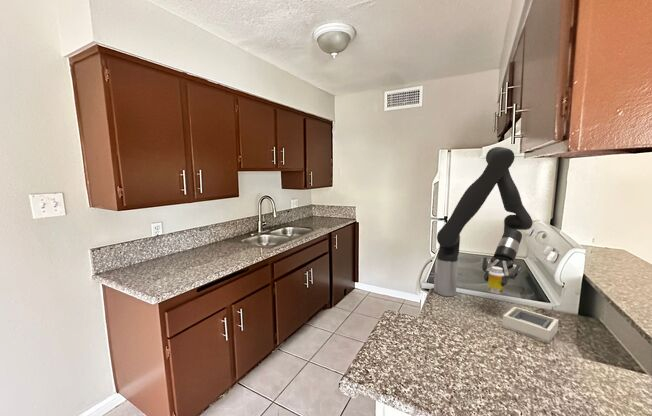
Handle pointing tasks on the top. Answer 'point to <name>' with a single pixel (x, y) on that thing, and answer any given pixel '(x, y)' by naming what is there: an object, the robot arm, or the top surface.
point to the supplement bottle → (495, 280)
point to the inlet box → (531, 324)
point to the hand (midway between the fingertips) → (494, 282)
